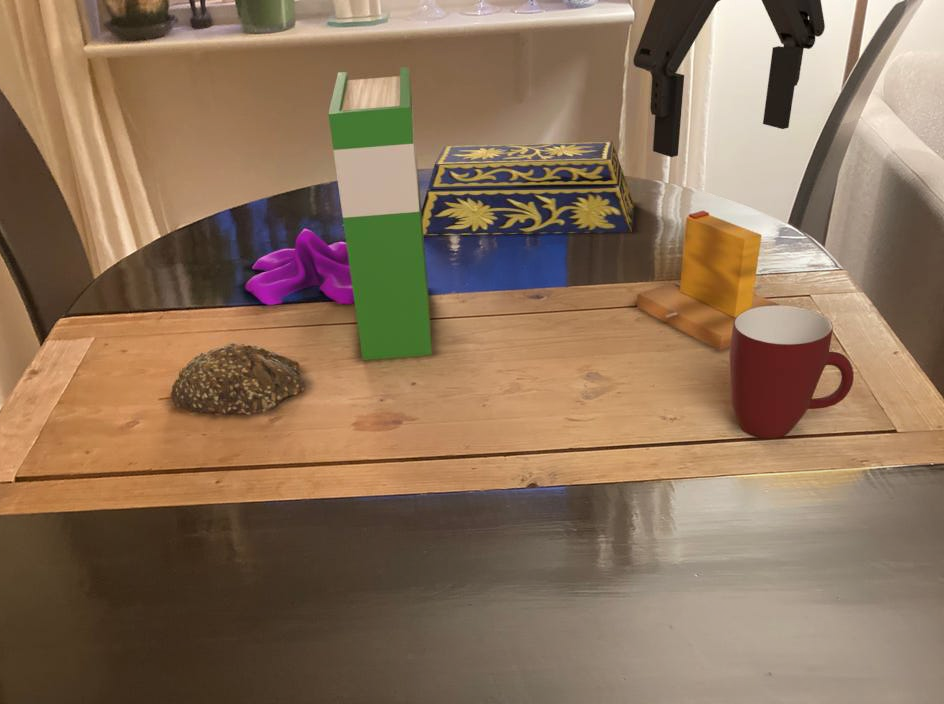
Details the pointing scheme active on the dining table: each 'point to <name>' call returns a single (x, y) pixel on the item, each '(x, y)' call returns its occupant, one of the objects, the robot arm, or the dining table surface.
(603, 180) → the decorative box
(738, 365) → the mug
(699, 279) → the bar
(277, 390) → the bread roll
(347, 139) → the hardback book
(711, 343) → the board
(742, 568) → the dining table surface
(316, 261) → the cloth
